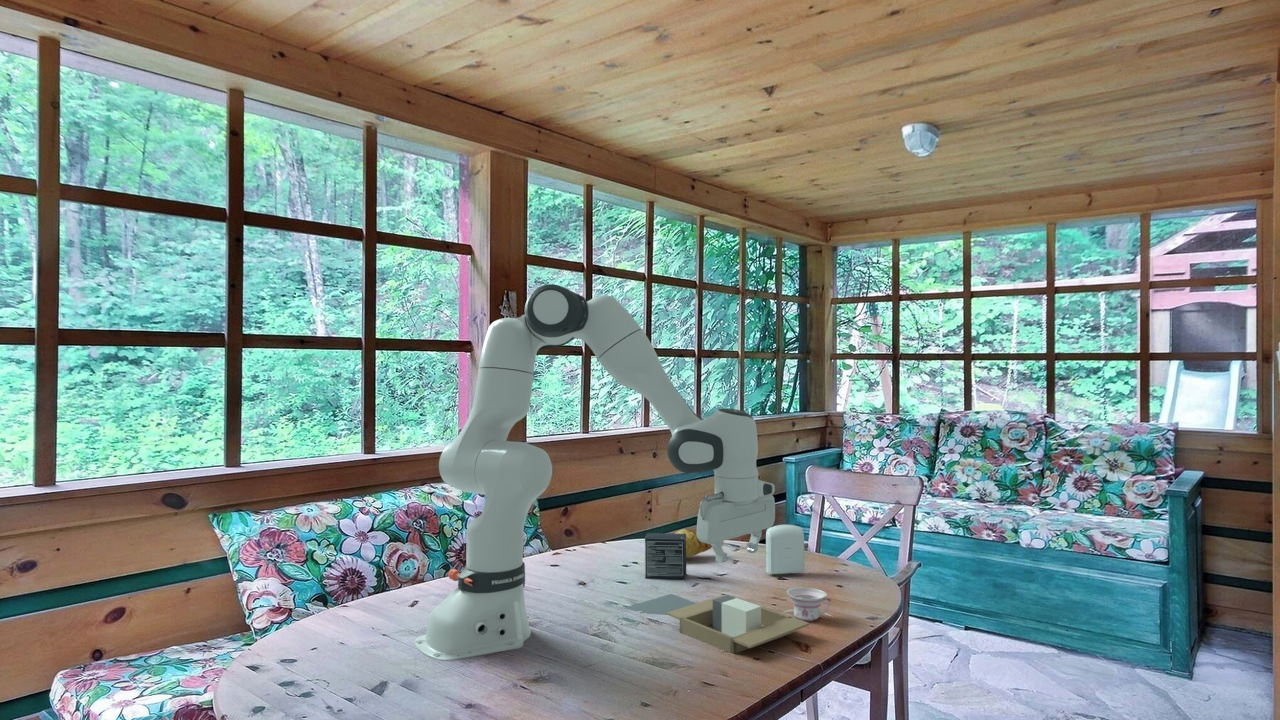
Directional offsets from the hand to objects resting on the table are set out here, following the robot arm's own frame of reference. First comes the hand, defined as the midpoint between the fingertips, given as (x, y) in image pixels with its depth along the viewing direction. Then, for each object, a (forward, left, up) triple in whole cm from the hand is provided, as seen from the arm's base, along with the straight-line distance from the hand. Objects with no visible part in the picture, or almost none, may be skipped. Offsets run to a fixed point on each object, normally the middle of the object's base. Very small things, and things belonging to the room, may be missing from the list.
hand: (737, 556), depth 146 cm
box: (-1, -1, -16) cm, 16 cm away
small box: (+16, +39, -16) cm, 46 cm away
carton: (-1, -1, -16) cm, 16 cm away
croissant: (+33, +53, -16) cm, 64 cm away
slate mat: (-1, +20, -16) cm, 26 cm away
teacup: (+18, -4, -16) cm, 24 cm away
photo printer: (+42, +21, -16) cm, 50 cm away
